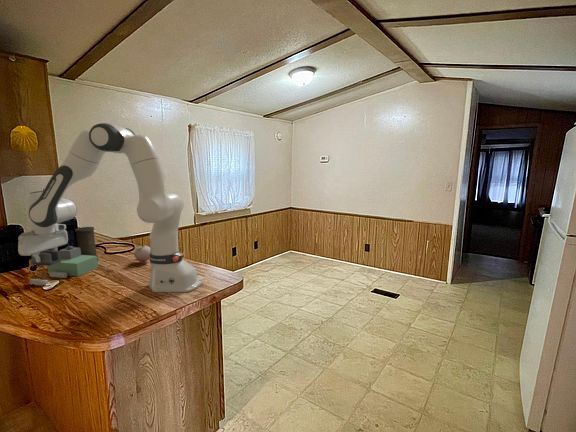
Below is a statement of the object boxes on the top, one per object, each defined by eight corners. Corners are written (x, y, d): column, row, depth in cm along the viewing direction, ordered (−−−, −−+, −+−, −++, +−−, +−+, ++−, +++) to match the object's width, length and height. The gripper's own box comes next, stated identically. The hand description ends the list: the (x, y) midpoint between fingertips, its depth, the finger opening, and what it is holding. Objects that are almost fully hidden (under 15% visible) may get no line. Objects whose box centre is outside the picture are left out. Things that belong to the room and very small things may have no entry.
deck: (98, 267, 155) (96, 245, 153) (54, 286, 131) (51, 260, 129) (70, 265, 157) (67, 243, 155) (22, 283, 134) (18, 258, 132)
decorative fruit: (149, 265, 159) (148, 246, 158) (132, 265, 158) (131, 246, 156) (155, 259, 168) (153, 241, 167) (139, 259, 167) (137, 241, 166)
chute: (43, 260, 139) (41, 249, 138) (60, 262, 138) (59, 251, 137) (32, 264, 134) (31, 253, 134) (50, 265, 133) (49, 254, 132)
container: (100, 261, 164) (97, 228, 161) (81, 265, 157) (77, 230, 154) (94, 258, 170) (91, 225, 167) (75, 261, 163) (71, 228, 160)
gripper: (24, 234, 123) (29, 267, 125) (69, 224, 143) (72, 253, 145) (11, 233, 124) (16, 266, 126) (57, 223, 144) (60, 252, 146)
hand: (46, 259), depth 136 cm, fingers closed on chute, 5 cm apart
